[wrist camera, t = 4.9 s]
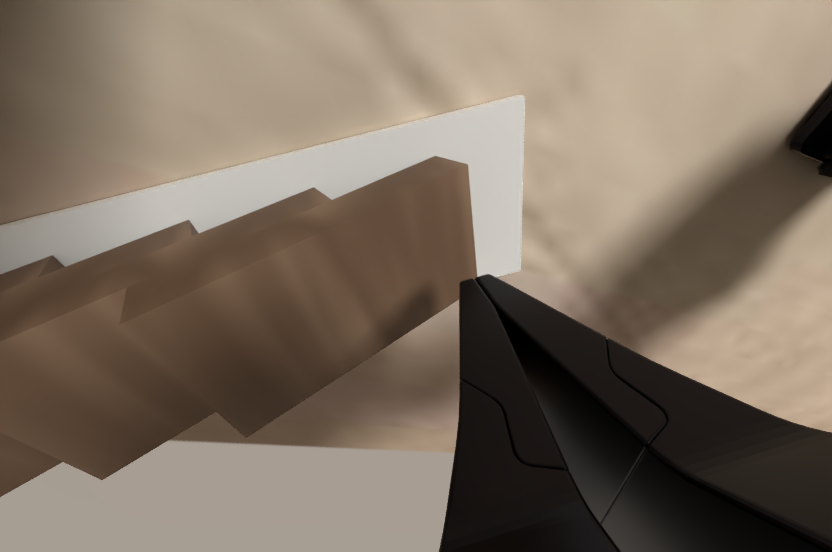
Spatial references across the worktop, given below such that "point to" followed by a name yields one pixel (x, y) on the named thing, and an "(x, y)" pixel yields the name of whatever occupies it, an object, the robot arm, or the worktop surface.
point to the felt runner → (299, 171)
